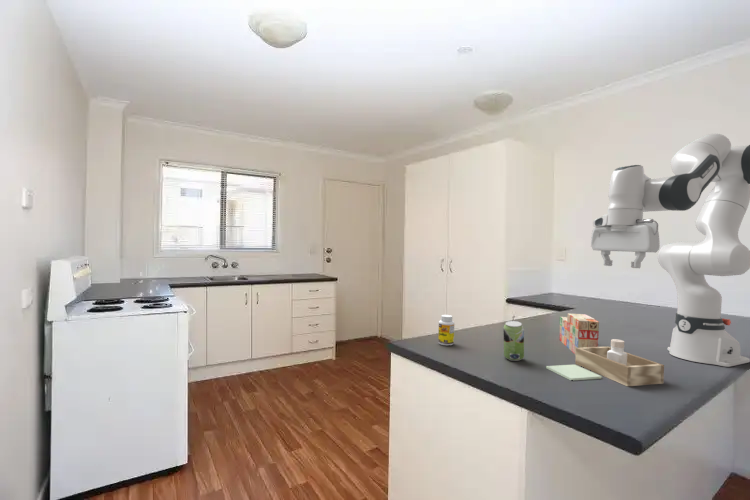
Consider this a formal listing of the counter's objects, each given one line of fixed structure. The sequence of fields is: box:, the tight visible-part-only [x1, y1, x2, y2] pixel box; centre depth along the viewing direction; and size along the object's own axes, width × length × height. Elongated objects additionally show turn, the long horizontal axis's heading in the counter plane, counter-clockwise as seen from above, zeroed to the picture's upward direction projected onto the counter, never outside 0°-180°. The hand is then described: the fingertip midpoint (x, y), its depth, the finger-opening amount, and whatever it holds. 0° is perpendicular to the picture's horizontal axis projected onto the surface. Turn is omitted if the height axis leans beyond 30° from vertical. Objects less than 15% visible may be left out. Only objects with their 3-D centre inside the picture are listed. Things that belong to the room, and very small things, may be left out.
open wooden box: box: [574, 346, 665, 387], centre depth 107 cm, size 12×18×5 cm, turn 13°
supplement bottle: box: [437, 314, 455, 346], centre depth 134 cm, size 6×6×10 cm
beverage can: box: [503, 320, 525, 362], centre depth 118 cm, size 6×7×12 cm
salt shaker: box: [607, 338, 628, 366], centre depth 107 cm, size 4×4×10 cm
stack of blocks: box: [559, 313, 600, 356], centre depth 133 cm, size 21×6×12 cm, turn 169°
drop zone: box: [545, 364, 603, 381], centre depth 106 cm, size 10×10×1 cm
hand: (621, 266), depth 110 cm, fingers open, 8 cm apart
